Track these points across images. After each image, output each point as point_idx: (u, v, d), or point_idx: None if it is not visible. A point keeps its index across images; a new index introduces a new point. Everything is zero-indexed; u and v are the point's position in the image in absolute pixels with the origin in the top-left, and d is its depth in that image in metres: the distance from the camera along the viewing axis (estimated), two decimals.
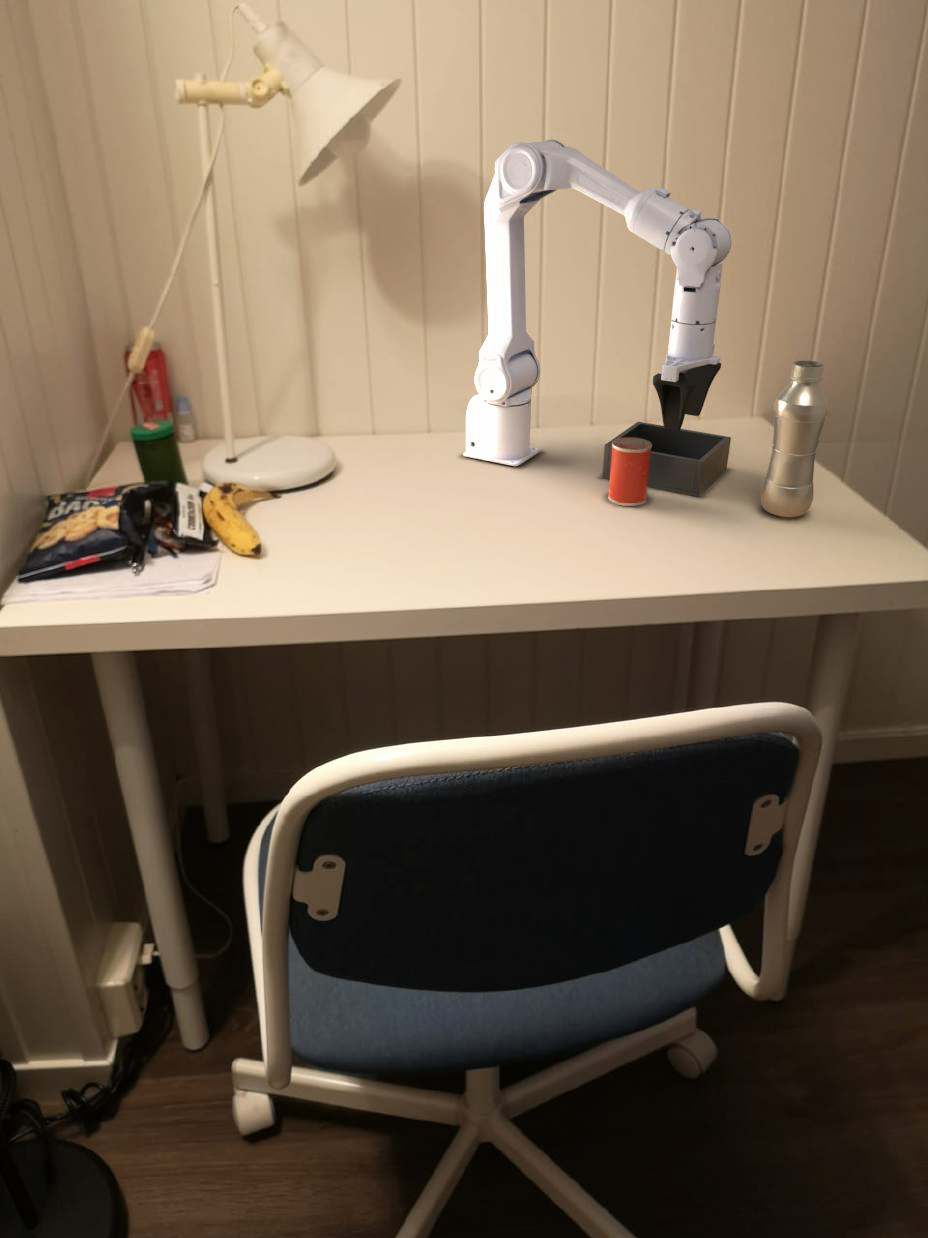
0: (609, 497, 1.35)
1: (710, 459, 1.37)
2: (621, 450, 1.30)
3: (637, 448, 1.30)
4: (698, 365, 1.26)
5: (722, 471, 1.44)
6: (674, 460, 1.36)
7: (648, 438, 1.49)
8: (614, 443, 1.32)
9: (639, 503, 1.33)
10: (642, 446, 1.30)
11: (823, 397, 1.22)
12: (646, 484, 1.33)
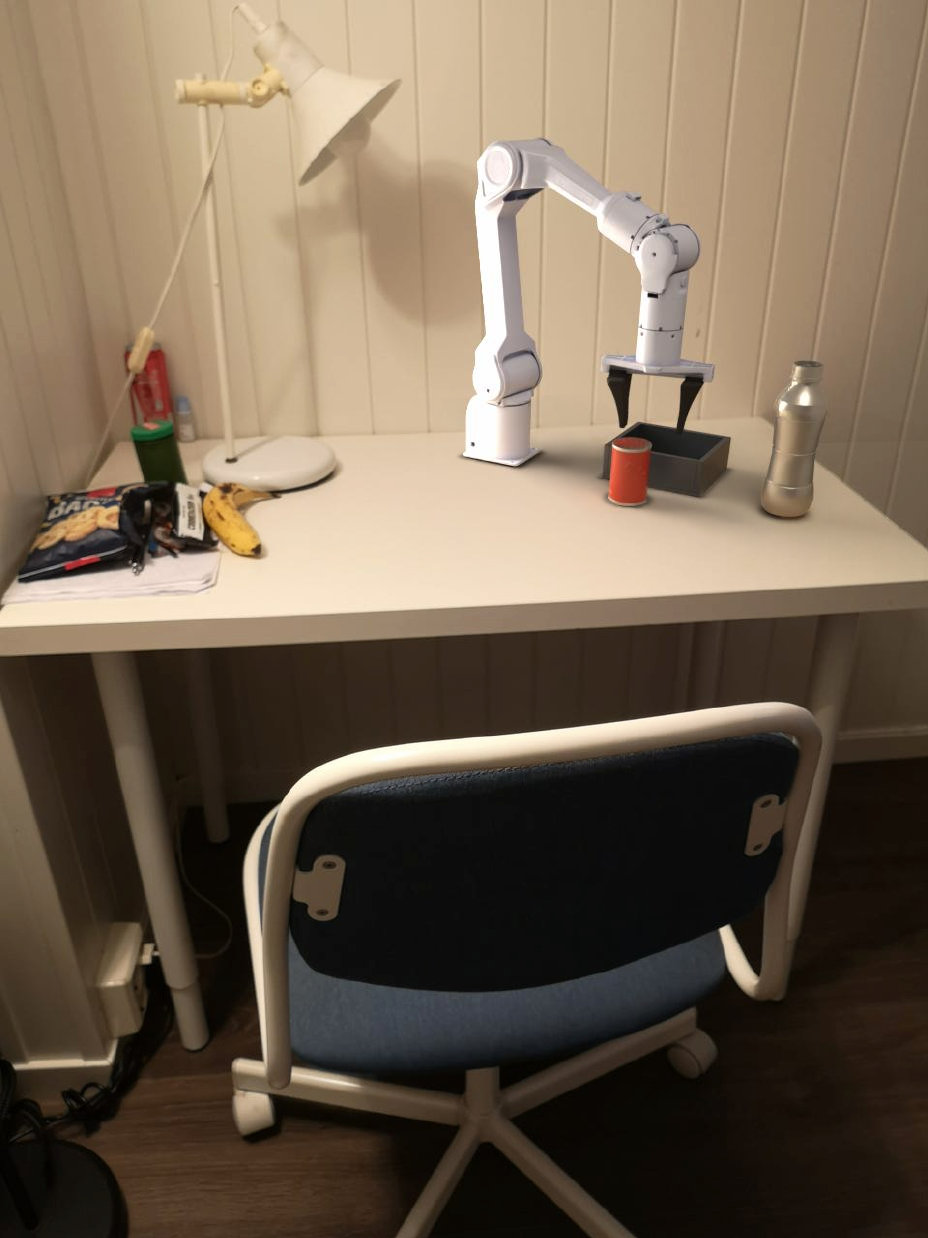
0: (609, 497, 1.35)
1: (710, 459, 1.37)
2: (621, 450, 1.30)
3: (637, 448, 1.30)
4: (632, 367, 1.27)
5: (722, 471, 1.44)
6: (674, 460, 1.36)
7: (648, 438, 1.49)
8: (614, 443, 1.32)
9: (639, 503, 1.33)
10: (642, 446, 1.30)
11: (823, 397, 1.22)
12: (646, 484, 1.33)
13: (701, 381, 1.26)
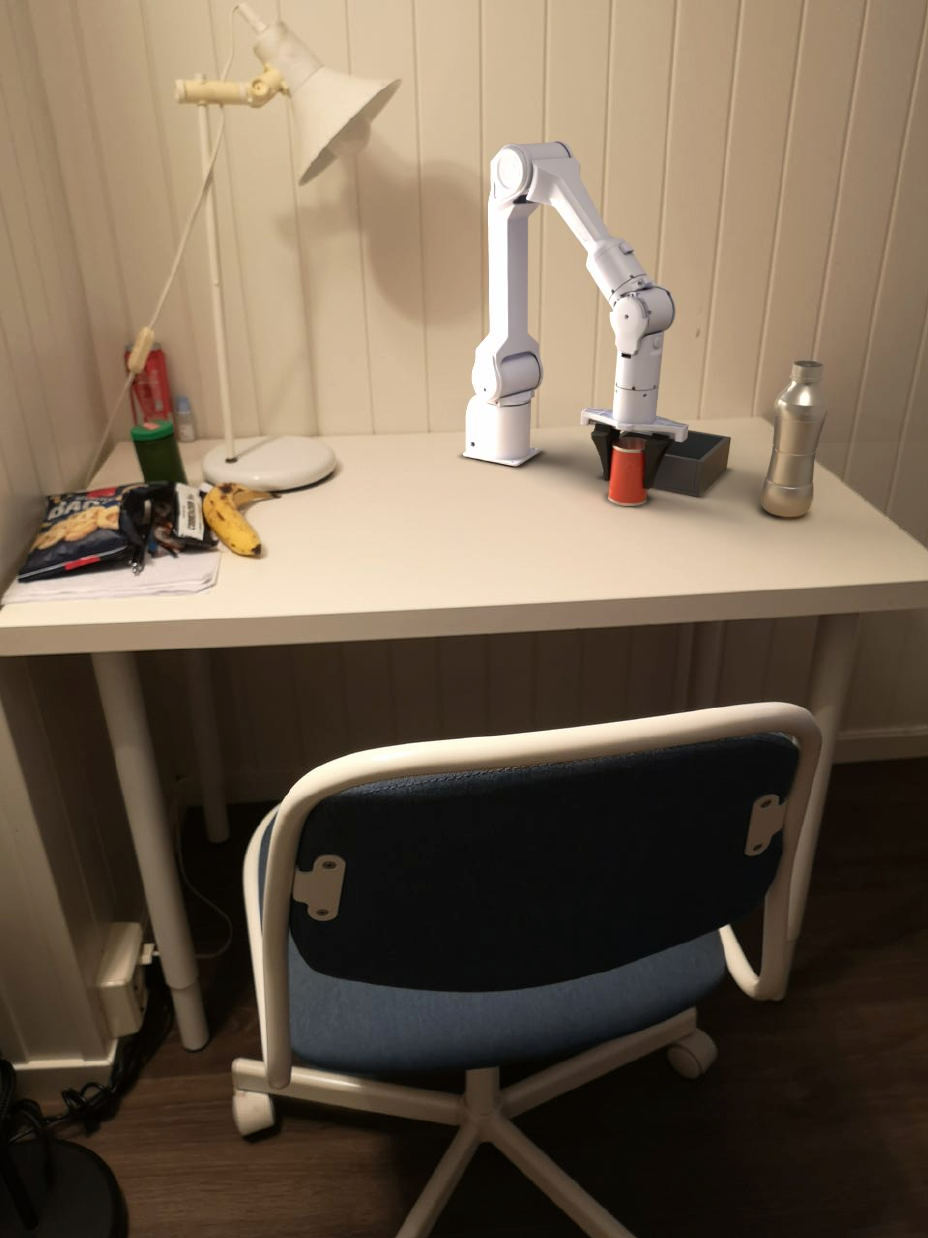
0: (609, 497, 1.35)
1: (710, 459, 1.37)
2: (621, 450, 1.30)
3: (637, 448, 1.30)
4: (607, 423, 1.30)
5: (722, 471, 1.44)
6: (674, 460, 1.36)
7: (648, 438, 1.49)
8: (614, 443, 1.32)
9: (639, 503, 1.33)
10: (642, 446, 1.30)
11: (823, 397, 1.22)
12: None
13: (666, 439, 1.28)
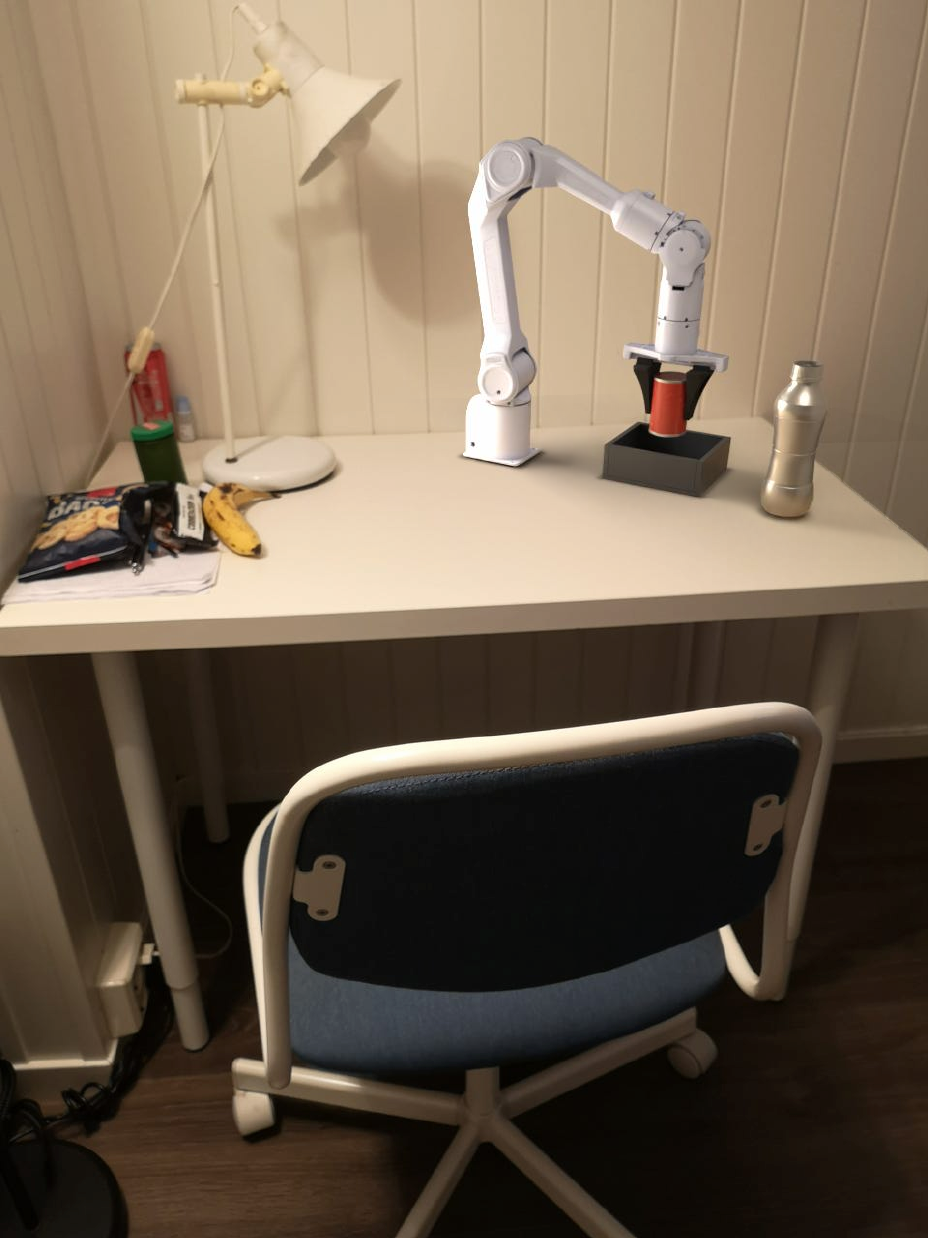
0: (650, 429, 1.40)
1: (710, 459, 1.37)
2: (663, 381, 1.35)
3: (678, 380, 1.35)
4: (650, 355, 1.34)
5: (722, 471, 1.44)
6: (674, 460, 1.36)
7: (648, 438, 1.49)
8: (656, 376, 1.36)
9: (679, 434, 1.38)
10: (683, 378, 1.35)
11: (823, 397, 1.22)
12: None
13: (707, 370, 1.33)
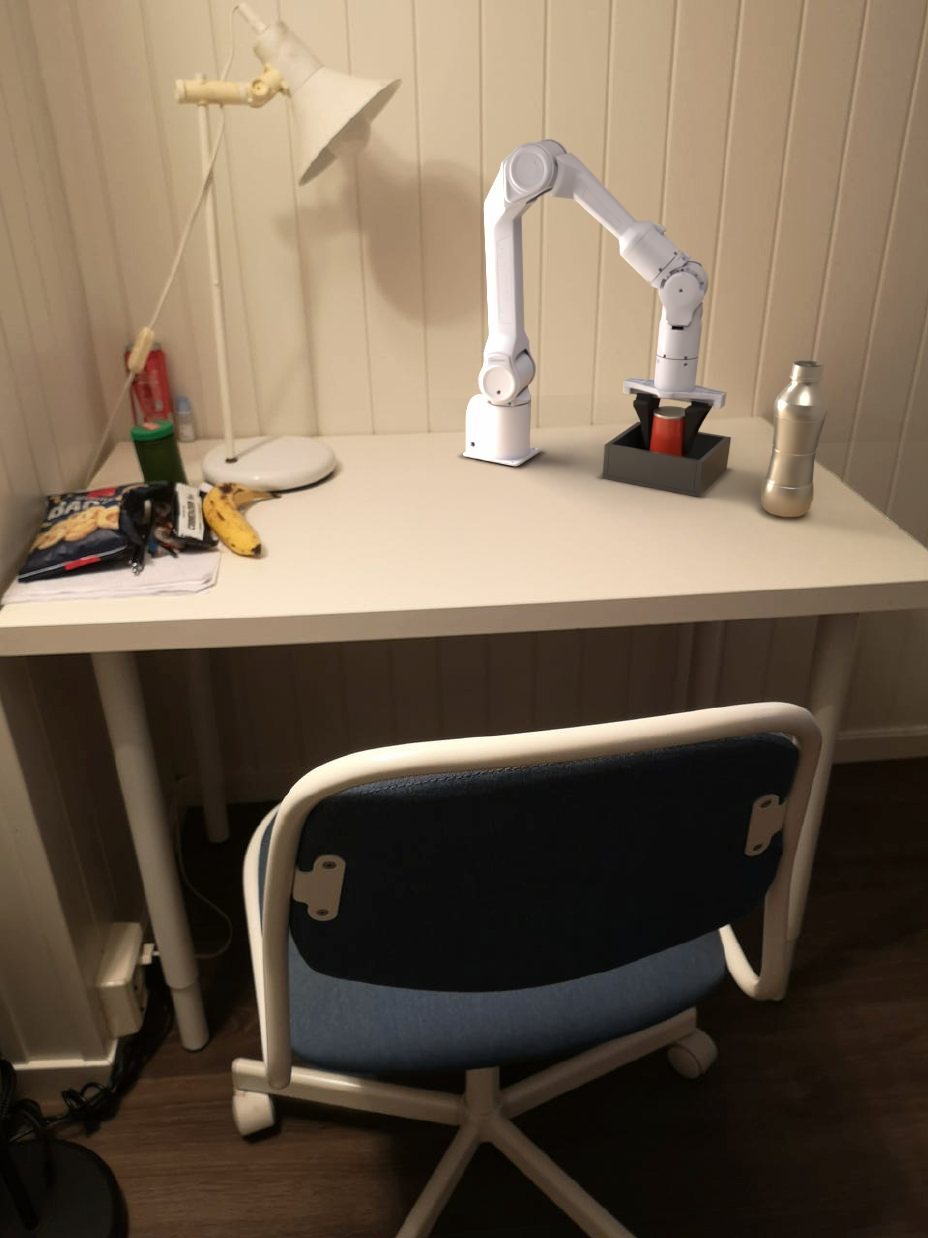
0: None
1: (710, 459, 1.37)
2: (662, 417, 1.38)
3: (677, 415, 1.38)
4: (649, 391, 1.38)
5: (722, 471, 1.44)
6: (674, 460, 1.36)
7: None
8: (655, 411, 1.39)
9: None
10: (681, 414, 1.38)
11: (823, 397, 1.22)
12: None
13: (705, 406, 1.36)
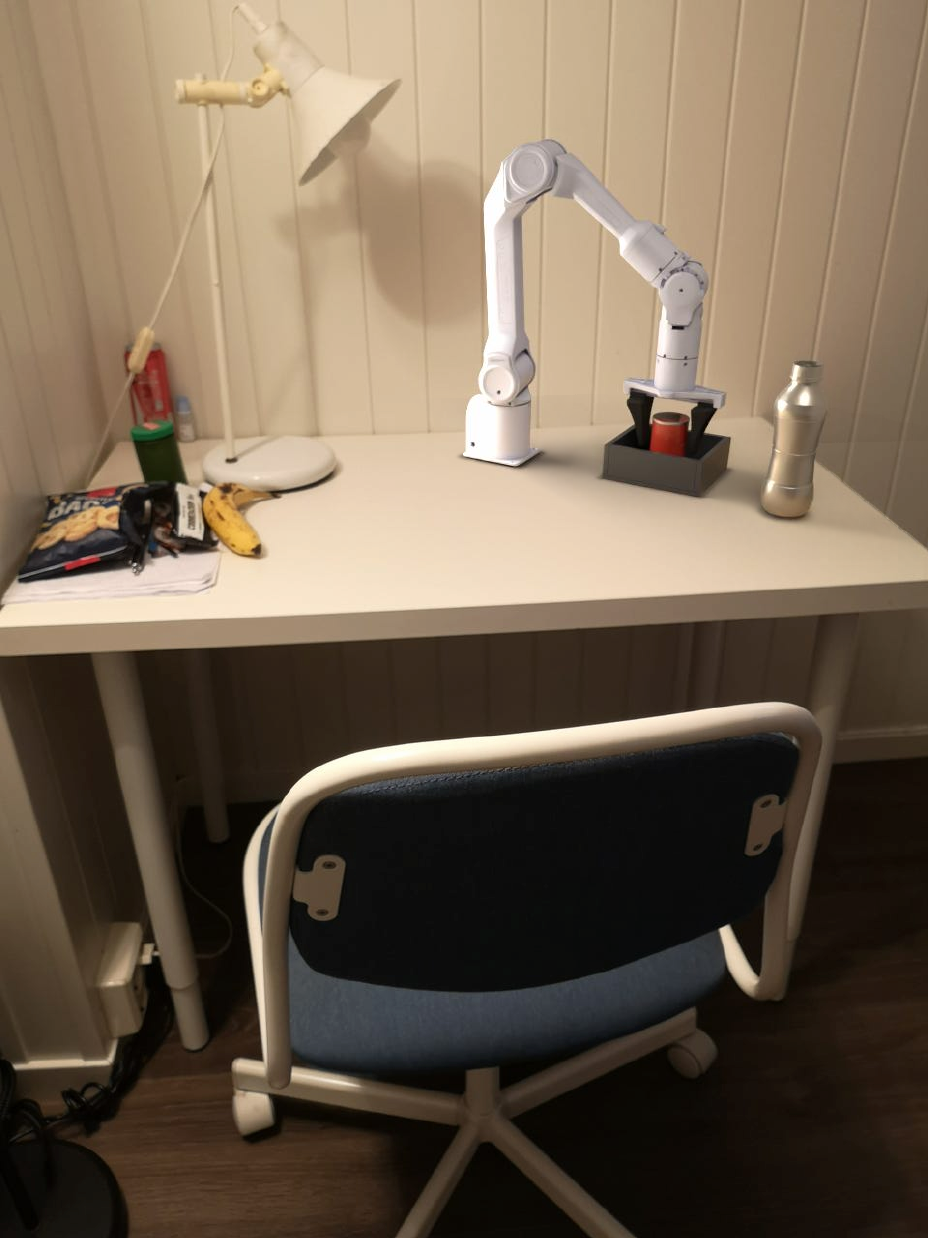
0: None
1: (710, 459, 1.37)
2: (661, 423, 1.38)
3: (676, 421, 1.38)
4: (649, 391, 1.38)
5: (722, 471, 1.44)
6: (674, 460, 1.36)
7: (648, 438, 1.49)
8: (654, 417, 1.40)
9: None
10: (681, 420, 1.39)
11: (823, 397, 1.22)
12: (684, 456, 1.41)
13: (712, 407, 1.35)
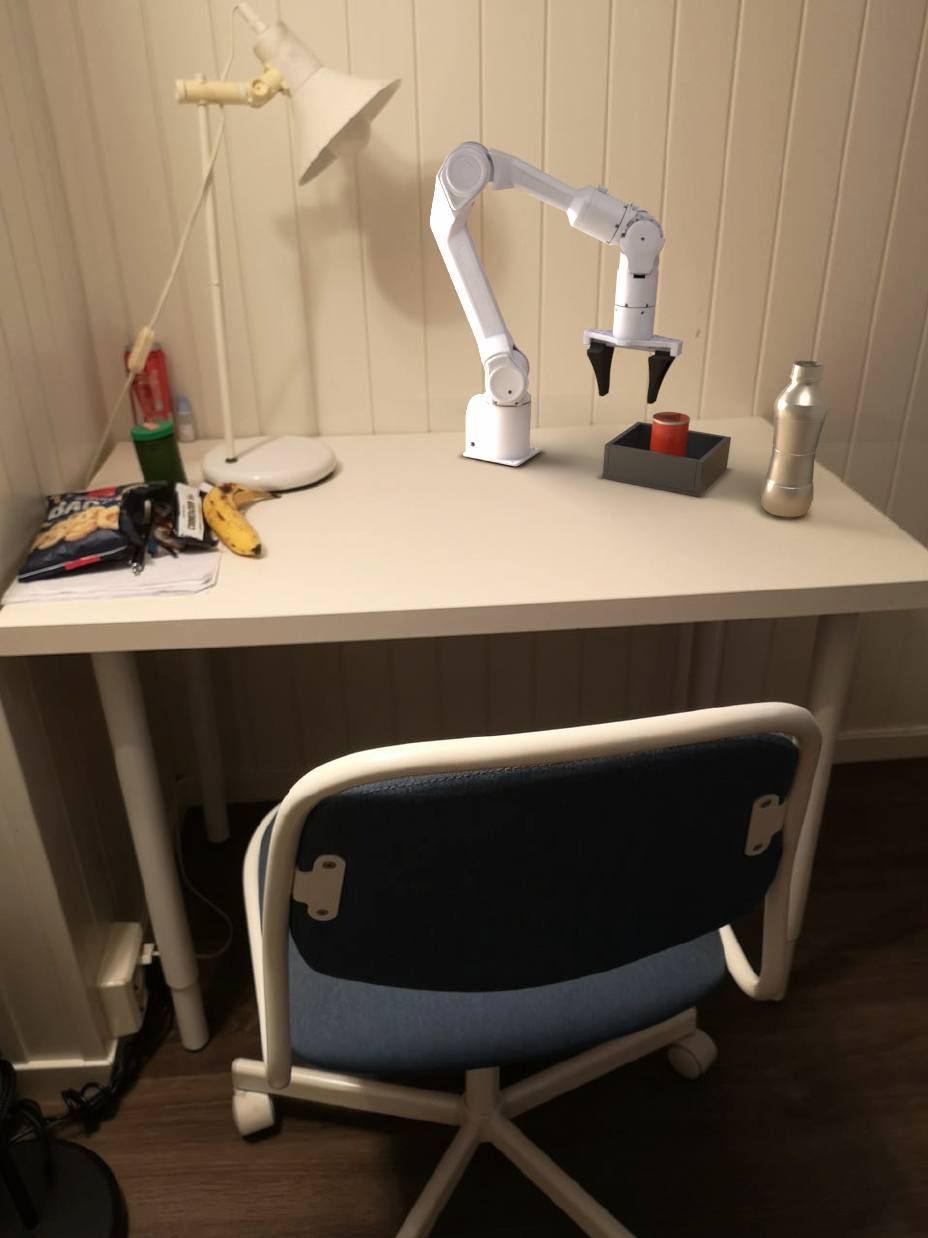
0: None
1: (710, 459, 1.37)
2: (661, 423, 1.38)
3: (676, 421, 1.38)
4: (608, 340, 1.41)
5: (722, 471, 1.44)
6: (674, 460, 1.36)
7: (648, 438, 1.49)
8: (654, 417, 1.40)
9: None
10: (681, 420, 1.39)
11: (823, 397, 1.22)
12: (684, 456, 1.41)
13: (668, 355, 1.38)
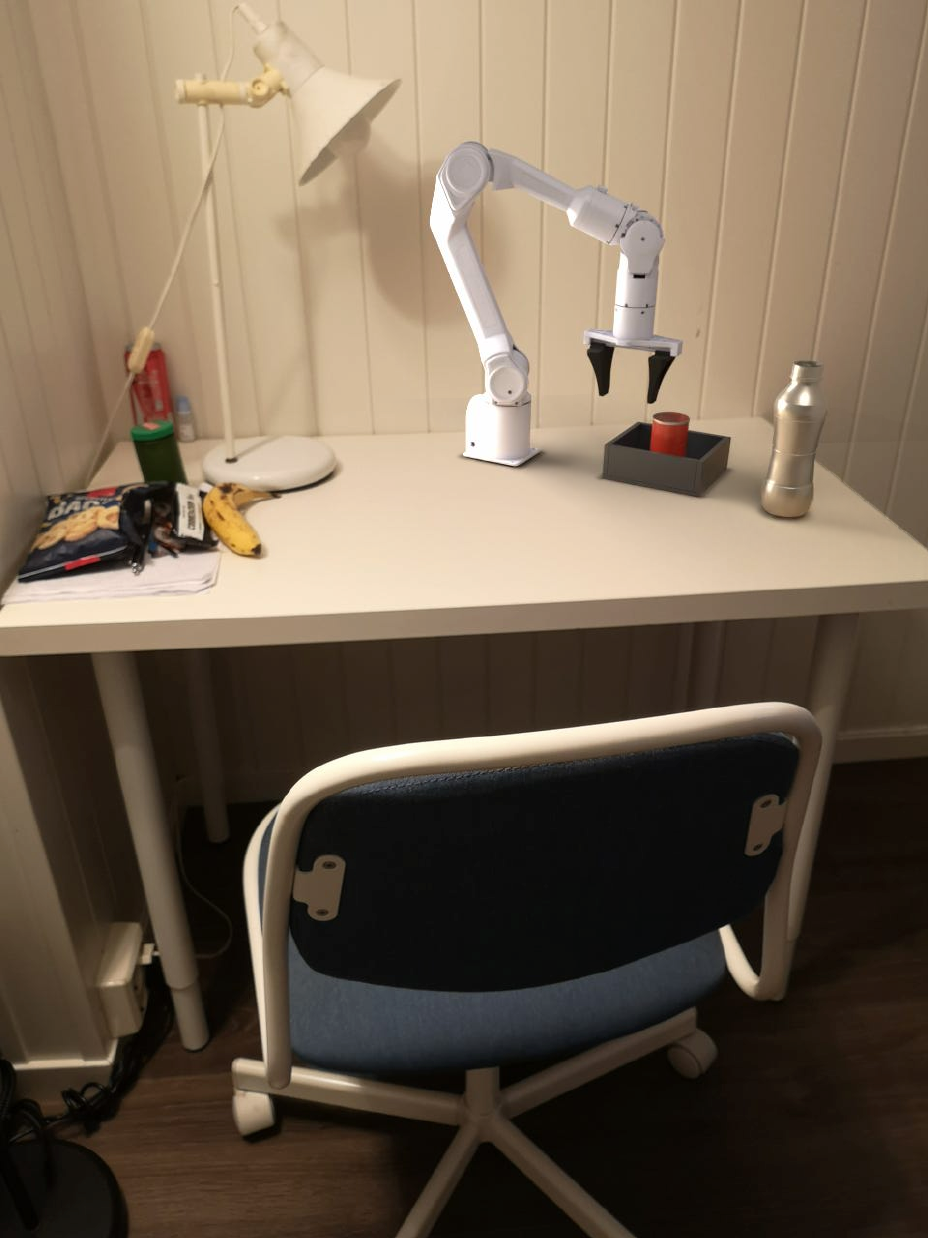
0: None
1: (710, 459, 1.37)
2: (661, 423, 1.38)
3: (676, 421, 1.38)
4: (608, 340, 1.41)
5: (722, 471, 1.44)
6: (674, 460, 1.36)
7: (648, 438, 1.49)
8: (654, 417, 1.40)
9: None
10: (681, 420, 1.39)
11: (823, 397, 1.22)
12: (684, 456, 1.41)
13: (668, 355, 1.38)
